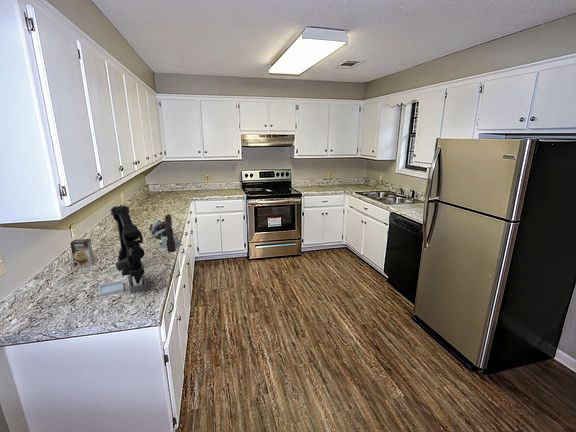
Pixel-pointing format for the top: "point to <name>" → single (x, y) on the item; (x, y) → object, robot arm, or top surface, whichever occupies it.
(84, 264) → the coffee box
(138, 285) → the plug
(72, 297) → the top surface
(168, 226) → the dark tall piece
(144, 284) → the grey boxy piece
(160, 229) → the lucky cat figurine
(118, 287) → the tray
